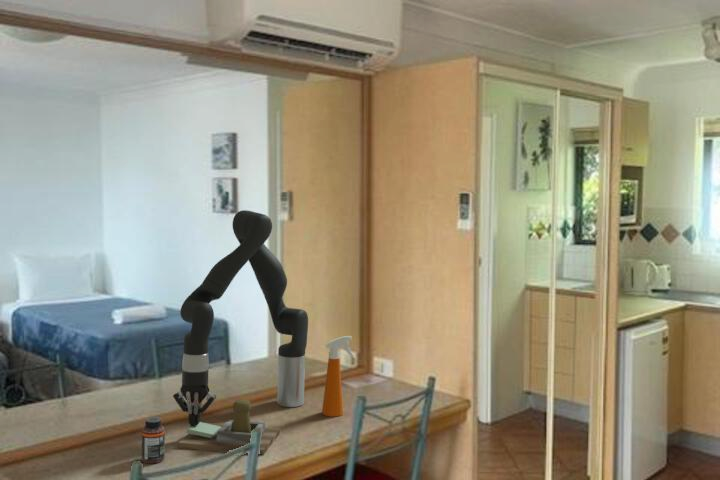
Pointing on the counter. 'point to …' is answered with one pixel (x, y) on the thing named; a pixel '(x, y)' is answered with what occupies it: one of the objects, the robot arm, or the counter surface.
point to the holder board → (230, 438)
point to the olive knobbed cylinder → (241, 416)
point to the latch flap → (204, 430)
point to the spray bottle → (334, 378)
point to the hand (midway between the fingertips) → (193, 425)
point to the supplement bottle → (153, 441)
